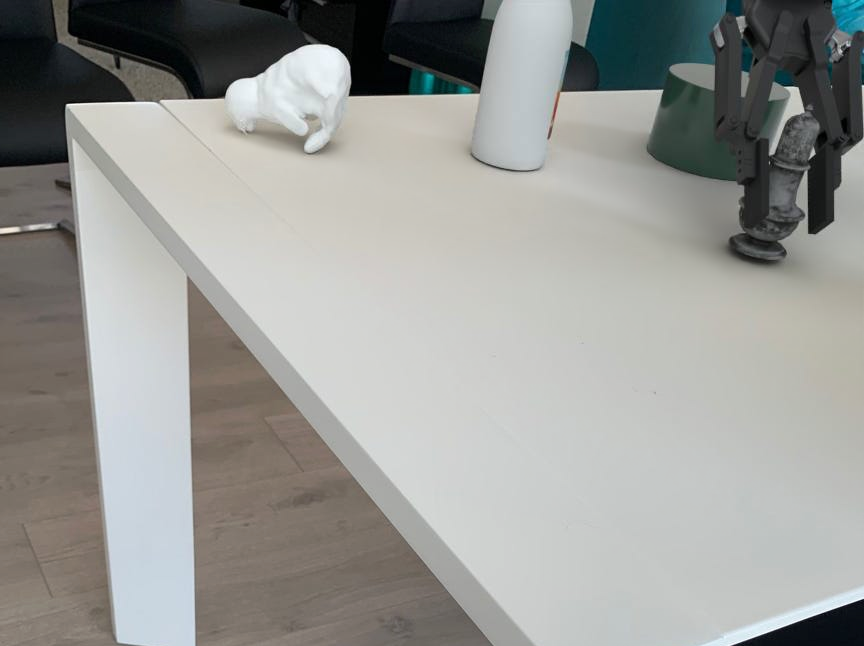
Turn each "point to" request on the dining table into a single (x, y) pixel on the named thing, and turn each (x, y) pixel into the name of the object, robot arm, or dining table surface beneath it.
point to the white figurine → (295, 94)
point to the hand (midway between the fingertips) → (789, 223)
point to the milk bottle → (522, 83)
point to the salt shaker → (781, 190)
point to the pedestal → (702, 122)
